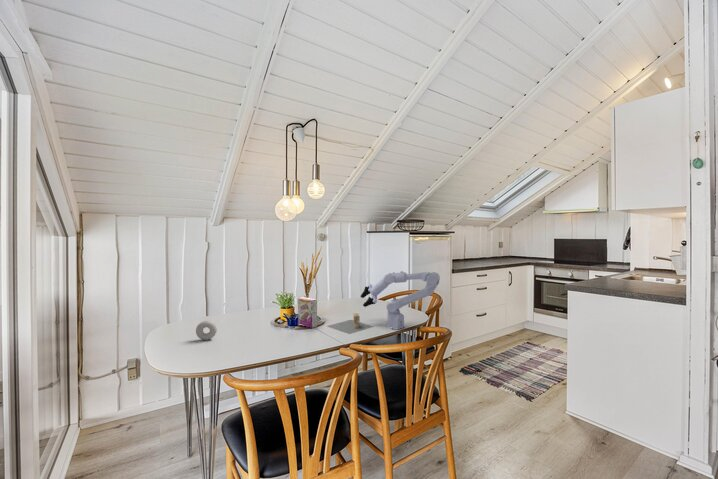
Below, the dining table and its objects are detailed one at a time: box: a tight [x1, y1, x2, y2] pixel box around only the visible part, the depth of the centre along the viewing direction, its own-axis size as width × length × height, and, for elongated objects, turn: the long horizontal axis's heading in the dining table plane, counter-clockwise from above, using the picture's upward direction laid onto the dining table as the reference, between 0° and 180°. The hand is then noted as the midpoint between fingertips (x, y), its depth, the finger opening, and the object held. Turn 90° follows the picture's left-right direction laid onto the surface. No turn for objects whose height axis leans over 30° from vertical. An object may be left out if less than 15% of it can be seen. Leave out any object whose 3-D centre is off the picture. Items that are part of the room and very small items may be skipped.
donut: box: [195, 320, 218, 341], centre depth 173 cm, size 10×4×10 cm, turn 104°
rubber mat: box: [326, 319, 375, 335], centre depth 196 cm, size 20×20×1 cm
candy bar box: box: [297, 296, 318, 329], centre depth 198 cm, size 11×5×16 cm, turn 58°
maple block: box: [352, 313, 360, 328], centre depth 195 cm, size 3×6×7 cm, turn 5°
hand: (362, 301), depth 204 cm, fingers open, 7 cm apart
